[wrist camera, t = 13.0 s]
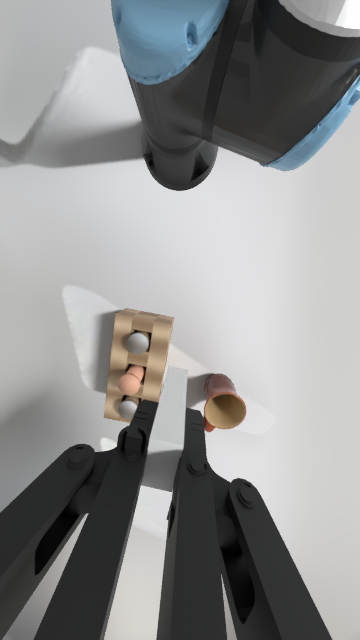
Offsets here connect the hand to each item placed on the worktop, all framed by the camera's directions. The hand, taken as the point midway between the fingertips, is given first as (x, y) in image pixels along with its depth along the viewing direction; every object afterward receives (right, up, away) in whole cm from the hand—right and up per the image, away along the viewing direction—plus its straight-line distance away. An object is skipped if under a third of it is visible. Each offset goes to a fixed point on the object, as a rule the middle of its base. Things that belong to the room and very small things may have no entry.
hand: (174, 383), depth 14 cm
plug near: (-8, +2, +32) cm, 33 cm away
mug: (+10, -13, +35) cm, 38 cm away
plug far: (-11, -14, +35) cm, 39 cm away
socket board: (-9, -6, +34) cm, 36 cm away
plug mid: (-9, -6, +31) cm, 33 cm away
